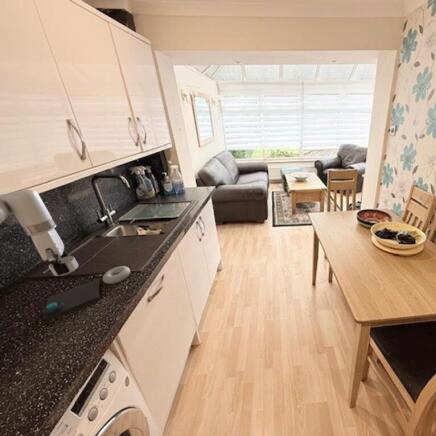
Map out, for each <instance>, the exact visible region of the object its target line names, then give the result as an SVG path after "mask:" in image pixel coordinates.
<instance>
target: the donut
mask: <svg viewBox="0 0 436 436" xmlns="http://www.w3.org/2000/svg"><path fill="white" fill-rule="evenodd" d="M130 274H131V269H130V268H129V266H125V265H121V266H116V267H114V268H113V267H112V268H111V269H109V270H107V271H106V272H105V273H104V274H103V276H102V281H103V283H105V284H106V285H115V284H119V283H121V282H123V281H124V280H126V279H127V278H128V277H130Z"/></svg>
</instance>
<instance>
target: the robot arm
mask: <svg viewBox="0 0 436 436" xmlns="http://www.w3.org/2000/svg"><path fill="white" fill-rule="evenodd" d="M12 215H14V217H15V218H16V220H17V221H18V223H19V225H20V227H21V228H22V229H23V231H24V232H25V234H26V236H30V238H31V240H32V243H33V244H34V246H35V248H36V250H37V252H38V254H39V255H40V258H41V259H42V261H43V262H47V261H48V262H49V263H50V264H51V265H52V267H53V268H54V270H55V271H56V273H57V274H58V275H62V274H65V273H68V272H69V269H68V267H67V265H66V264H65V262H64V263H63V261H62V258H64V257H68V256H69V254H68V252H67V251H66V249H65V245H64V242H63V240H62V239H61V237H60V235H59V234H58V231H57V230H56V229H55V228H56V227H57V224H56V222H55V220H54V219H53V217H52V216H51V213H50V212H49V210H48V208H47V206H46V205H45V203H44V202H43V199H42V198H41V196H40V194H39V192H38V191H36V190H35V189H22V190H17V191H13V192H9V193H2V194H0V224H2V223H4V221H5V220H6V219H7V217H10V216H12ZM58 259H59V260H58ZM62 276H63V275H62Z"/></svg>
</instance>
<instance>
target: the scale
mask: <svg viewBox="0 0 436 436" xmlns="http://www.w3.org/2000/svg"><path fill="white" fill-rule="evenodd" d="M99 301H101V282H100V279H98V278H96V279H94V280H92V281H88V282H86V283H83V284H79V285H78V286H75V287H72V288H70V289H67V290H64V291H62V292H59V293H56V294H53V295H50V296H48V297H47V300H46V303H45V304H46V305H45V307H44V308H43V309H42V312H41V313H42V314H43V316H42V321H43V322H44V323H47V322H49V321H52V320H54V319H57V318H59V317H61V316H64V315H66V314H69V313H71V312H74V311H77V310H78V309H82V308H83V307H86V306H88V305H91V304H94V303H97V302H99ZM53 302H56V303H57V305H58V306H57V307H56V308H55V309H52V310H48V309H47V306H48V305H49V304H51V303H53Z"/></svg>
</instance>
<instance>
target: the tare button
mask: <svg viewBox="0 0 436 436" xmlns="http://www.w3.org/2000/svg"><path fill="white" fill-rule="evenodd" d="M57 306H58V305H57V303H56V302H53V303H51V304H49V305H48V306H47V309H48V310H52V309H55V308H56V307H57Z"/></svg>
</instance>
